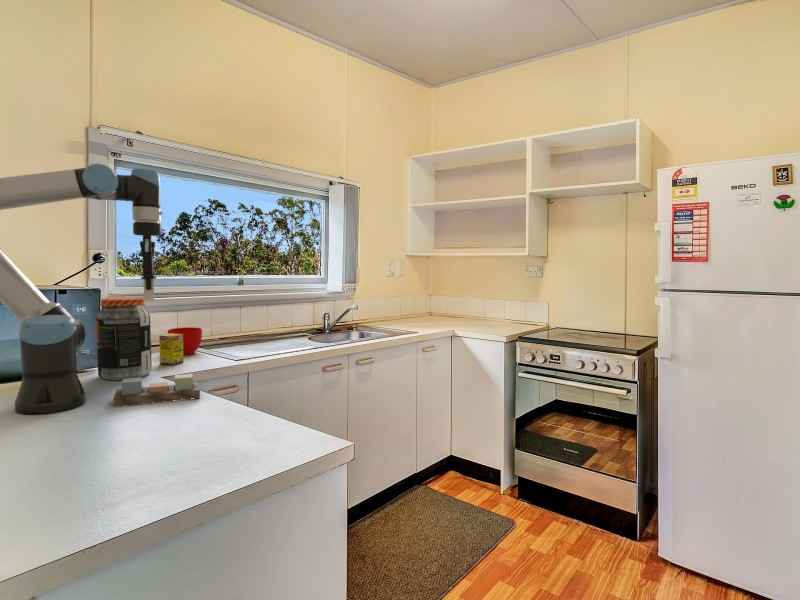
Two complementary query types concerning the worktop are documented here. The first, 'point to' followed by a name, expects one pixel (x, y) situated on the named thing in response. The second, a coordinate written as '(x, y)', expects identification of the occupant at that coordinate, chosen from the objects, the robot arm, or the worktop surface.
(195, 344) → the ceramic cup
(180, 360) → the supplement box
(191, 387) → the sage block
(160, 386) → the terracotta block
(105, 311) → the supplement tub
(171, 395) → the wooden block tray
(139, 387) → the slate block
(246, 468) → the worktop surface
